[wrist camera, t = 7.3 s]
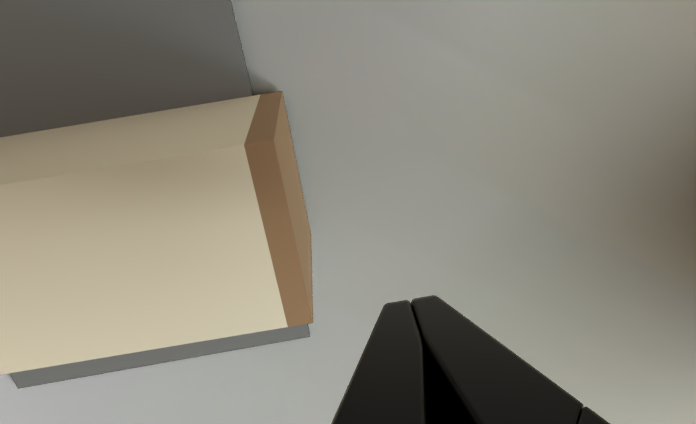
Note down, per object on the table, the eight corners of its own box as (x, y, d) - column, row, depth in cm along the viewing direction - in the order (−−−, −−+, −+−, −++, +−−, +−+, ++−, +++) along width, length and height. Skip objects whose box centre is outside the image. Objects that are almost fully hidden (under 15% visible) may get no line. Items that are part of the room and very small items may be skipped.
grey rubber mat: (217, -54, 14) (216, -54, 13) (309, 333, 19) (309, 336, 19) (-179, 17, 14) (-185, 18, 14) (20, 384, 19) (18, 388, 19)
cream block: (273, 140, 11) (-173, 214, 11) (312, 322, 13) (-68, 385, 13) (282, 90, 15) (-44, 144, 15) (311, 235, 17) (22, 283, 17)
